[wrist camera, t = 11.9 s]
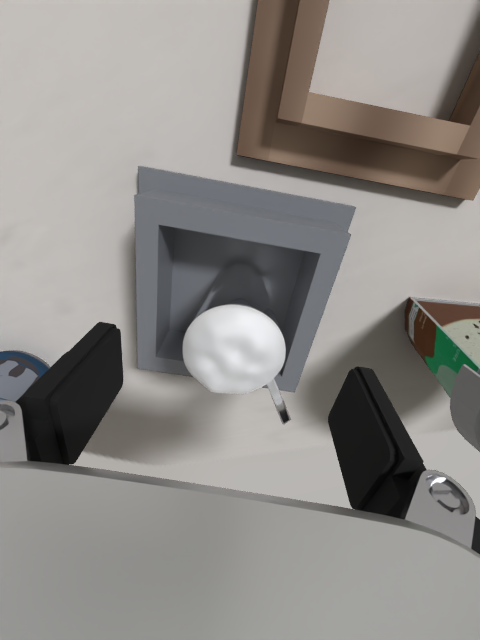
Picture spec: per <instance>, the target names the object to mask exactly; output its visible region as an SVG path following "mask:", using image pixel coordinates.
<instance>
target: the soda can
mask: <svg viewBox="0 0 480 640" xmlns="http://www.w3.org/2000/svg"><path fill="white" fill-rule="evenodd" d="M50 368H51V367H50V366H49V365H48V364H47V363H46V362H44V361H43V360H41V359H40V358H38V357H36V356H34V355H32V354H30V353H26V352H23V351H3V352H0V400H9V401H13V402H16V401H17V400H18V399H19V398H20V397H21V396H22V395H23V394H24V393H25V392H26V391H27V390H28V389H29V388H30V387H31V386H32V385H33V384H34V383H35V382H36V381H37V380H38V379H39V378H40V377H41V376H42V375H43V374H44V373H45V372H46V371H48V370H49V369H50Z"/></svg>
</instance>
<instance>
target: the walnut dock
mask: <svg viewBox="0 0 480 640" xmlns="http://www.w3.org/2000/svg"><path fill="white" fill-rule="evenodd" d="M328 5H329V0H258V4H257V11H256V18H255V25H254V33H253V40H252V47H251V54H250V61H249V69H248V76H247V83H246V90H245V97H244V105H243V112H242V119H241V126H240V133H239V141H238V148H237V155H240V156H245V157H250V158H255V159H260V160H265V161H271V162H276V163H281V164H286V165H291V166H296V167H301V168H307V169H312V170H317V171H322V172H327V173H332V174H338V175H343V176H348V177H353V178H358V179H363V180H368V181H374V182H379V183H384V184H389V185H394V186H399V187H405V188H410V189H415V190H420V191H425V192H430V193H435V194H441V195H446V196H451V197H456V198H461V199H466V200H474V198H475V196H476V194H477V192H478V190H479V189H480V52H479V54H478V57H477V59H476V61H475V63H474V66H473V68H472V70H471V73H470V75H469V77H468V79H467V82H466V84H465V86H464V88H463V91H462V93H461V95H460V97H459V100H458V102H457V104H456V107H455V109H454V111H453V113H452V116H451V118H450V120H449V121H445V120H440V119H435V118H431V117H426V116H421V115H416V114H411V113H407V112H402V111H397V110H392V109H387V108H383V107H378V106H373V105H368V104H363V103H359V102H354V101H349V100H344V99H339V98H334V97H330V96H325V95H320V94H315V93H310V92H309V88H310V84H311V79H312V75H313V71H314V66H315V62H316V57H317V53H318V49H319V44H320V40H321V35H322V31H323V27H324V22H325V18H326V13H327V9H328Z"/></svg>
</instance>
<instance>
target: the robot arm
mask: <svg viewBox="0 0 480 640" xmlns="http://www.w3.org/2000/svg"><path fill="white" fill-rule="evenodd" d="M122 384H123V367H122V349H121V332H120V329H117V328H116V325H114V324H109V323H104V322H99V323H97V324H96V325H95V326H94V327H93V328H92V329H91V330H90V331H89V332H88V333H87V334H86V335H85V336H84V337H83V338H82V339H81V340H80V341H79V342H78V343H77V344H76V345H75V346H74V347H73V348H72V349H71V350H70V351H68V352H67V353H65V354H64V355H63V356H62V357H61V358H60V359H59V360H58V361H57V362H56V363H55V364H54V365H53V366H52V367H51V368H50V369H49V370H48V371H46V372H45V373H44V374H43V375H42V376H41V377H40V378H39V379H38V380H37V381H36V382H35V383H34V384H33V385H32V386H31V387H30V388H29V389H28V390H27V391H26V392H25V393H24V394H23V395H22V396H21V397H20V398H19V399H18V400H17V401H16V402H13V401H9V400H0V640H480V520H479V519H478V518H477V517H476V511H475V506H474V503H473V501H472V499H471V497H470V496H469V495H468V493H467V492H466V491H465V489H464V488H463V487H462V486H461V485H460V484H459V483H457V482H456V481H455V480H453V479H452V478H451V477H449V476H447V475H445V474H444V473H442V472H439V471H436V470H426V468H425V466H424V464H423V460H422V458H421V456H420V455H419V453H418V451H417V449H416V447H415V445H414V444H413V442H412V440H411V438H410V436H409V434H408V433H407V431H406V429H405V427H404V425H403V424H402V422H401V420H400V418H399V416H398V415H397V413H396V411H395V409H394V407H393V405H392V404H391V402H390V400H389V398H388V396H387V395H386V393H385V391H384V389H383V387H382V386H381V384H380V382H379V380H378V378H377V377H376V375H375V373H374V371H373V370H372V369H369V368H363V367H356V368H355V369H351V370H350V371H349V373H348V375H347V378H346V380H345V382H344V384H343V386H342V388H341V390H340V392H339V394H338V397H337V399H336V401H335V403H334V405H333V407H332V409H331V411H330V414H329V417H328V423H329V427H330V431H331V434H332V438H333V442H334V446H335V449H336V453H337V457H338V461H339V464H340V468H341V472H342V476H343V479H344V483H345V486H346V490H347V494H348V498H349V502H350V505H351V507H352V508H353V509H348V508H343V507H338V506H331V505H325V504H319V503H313V502H307V501H301V500H295V499H289V498H283V497H276V496H270V495H264V494H258V493H252V492H245V491H239V490H232V489H226V488H220V487H214V486H207V485H201V484H195V483H188V482H182V481H175V480H169V479H162V478H156V477H149V476H142V475H136V474H129V473H122V472H116V471H110V470H103V469H94V468H88V467H80V466H73V465H69V464H74V463H75V462H76V460H77V459H78V457H79V456H80V454H81V452H82V451H83V449H84V448H85V446H86V444H87V443H88V441H89V439H90V438H91V436H92V435H93V433H94V431H95V430H96V428H97V426H98V425H99V423H100V422H101V420H102V418H103V417H104V415H105V414H106V412H107V410H108V409H109V407H110V405H111V404H112V402H113V401H114V399H115V397H116V396H117V394H118V392H119V391H120V389H121V387H122ZM354 509H355V510H354Z"/></svg>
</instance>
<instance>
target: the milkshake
mask: <svg viewBox="0 0 480 640" xmlns="http://www.w3.org/2000/svg"><path fill="white" fill-rule="evenodd" d="M285 355H286V347H285V341H284V338H283V335H282V332H281V330H280V327H279V324H278V322H277V319H276V316H275V314H274V311H273V309H272V306H271V303H270V300H269V297H268V293H267V290H266V287H265V284H264V280H263V277H262V274H261V273H260V272H259V271H257V270H256V269H255V268H254V267H253V266H252V265H251V264H244V263H234V264H232V265H230V266H228V267H226V268H225V269H223V270H222V271H221V273H220V275H219V277H218V279H217V281H216V282H215V284H214V286H213V288H212V290H211V292H210V294H209V295H208V297H207V299H206V300H205V302H204V303H203V305H202V307H201V308H200V310H199V311H198V313H197V314H196V316H195V318H194V319H193V321H192V322H191V324H190V326H189V327H188V329H187V331H186V333H185V336H184V340H183V359H184V363H185V366H186V368H187V369H188V371H189V372H190V374H191V375H192V376H193V377H194V378H195V379H196V380H198V381H199V382H200V383H201V384H202V385H203V386H204V387H205V388H207V389H208V390H209V391H211V392H214V393H231V394H246V393H250V392H252V391H255V390H257V389H259V388H261V387H263V386H265V385H266V384H267V386H268V388H269V391H270V393H271V396H272V399H273V401H274V404H275V406H276V409H277V411H278V414H279V417H280V419H281V422H282V424H285V423H287V422H288V421H290V420H291V418H290V415H289V413H288V410H287V408H286V406H285V403H284V401H283V398H282V396H281V394H280V391H279V389H278V386H277V384H276V382H275V379H274V378H275V376H276V375H277V374H278V373H279V371H280V370H281V368H282V367H283V364H284V361H285Z"/></svg>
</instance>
